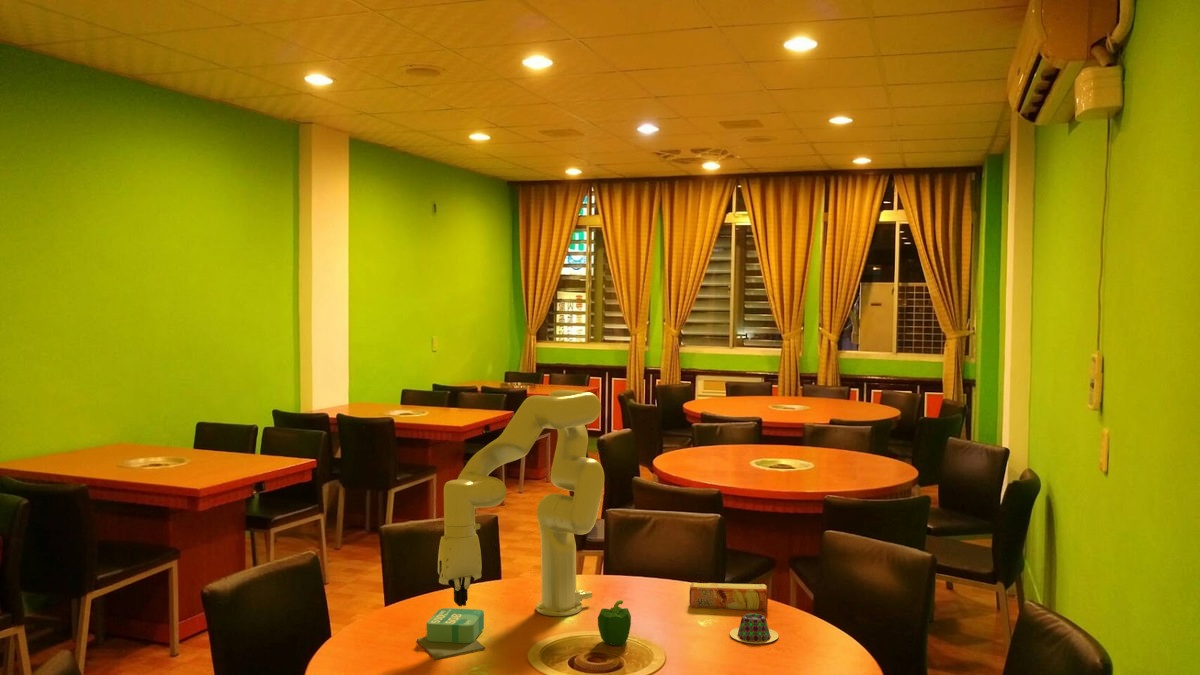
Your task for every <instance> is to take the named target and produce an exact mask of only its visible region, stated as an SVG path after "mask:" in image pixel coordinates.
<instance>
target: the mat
mask: <svg viewBox="0 0 1200 675" xmlns="http://www.w3.org/2000/svg"><path fill="white" fill-rule="evenodd" d="M416 642H417V643H419V645H420V646H421V647H422V648H424V650H425V651H426V652H428V654H429V655H430V656H431V657H432V658H433V659H434V661H435V660H441V659H445V658H451V657H454V656H455V657H456V656H461V655H466V654H470V652H471V653H474V651H476V652H479V651H478V650H480V651H484V650H483V649H485V650H486V647H485V646H484V645H483V644H482V643H480V641H479V640H477V638H476V639H475V640H474V642H472V643H445V642H429V641H427V636H425V637H419V638H417V639H416Z"/></svg>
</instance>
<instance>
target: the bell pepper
mask: <svg viewBox="0 0 1200 675" xmlns="http://www.w3.org/2000/svg"><path fill="white" fill-rule="evenodd" d="M623 603H624V600H622V599H618V600H617V601H616V602H615V603H614V605H613V607H611V608H601V610H600V611H599V614H598V617H597V628H598V630H599V634H600V637H601V639H602V642H604V644H607V645H612V646H616V647H617V646H622V645H625V644H626V642H627V641H628V639H629V634H630V629H631V626H632V625H631V624H632V622H631V621H632V616H631V613H630V611H629V609H628V607H627V608H626V607H625V608H622V607H620V605H623Z"/></svg>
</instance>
